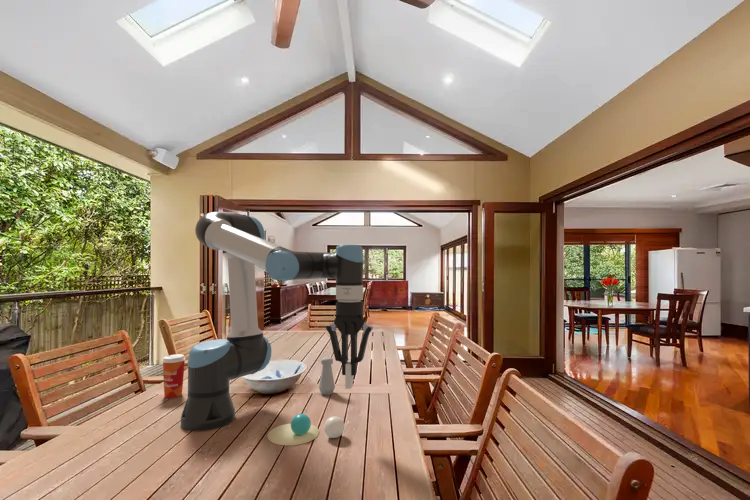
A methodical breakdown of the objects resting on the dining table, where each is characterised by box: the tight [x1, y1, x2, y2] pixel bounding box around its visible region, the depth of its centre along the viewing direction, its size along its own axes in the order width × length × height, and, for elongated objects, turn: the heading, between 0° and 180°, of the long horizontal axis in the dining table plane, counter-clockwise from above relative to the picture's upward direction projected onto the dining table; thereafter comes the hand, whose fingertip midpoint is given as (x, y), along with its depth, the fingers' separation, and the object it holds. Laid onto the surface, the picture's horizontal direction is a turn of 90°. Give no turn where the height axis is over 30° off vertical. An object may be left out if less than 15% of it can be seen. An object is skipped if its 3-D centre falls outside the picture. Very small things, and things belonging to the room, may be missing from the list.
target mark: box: [267, 422, 320, 447], centre depth 108 cm, size 14×14×1 cm
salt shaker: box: [318, 356, 336, 396], centre depth 142 cm, size 6×6×13 cm
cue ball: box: [323, 415, 345, 439], centre depth 106 cm, size 6×6×6 cm
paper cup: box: [161, 353, 186, 399], centre depth 139 cm, size 8×8×14 cm
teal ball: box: [290, 413, 312, 435], centre depth 108 cm, size 6×6×6 cm
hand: (349, 386), depth 105 cm, fingers closed
